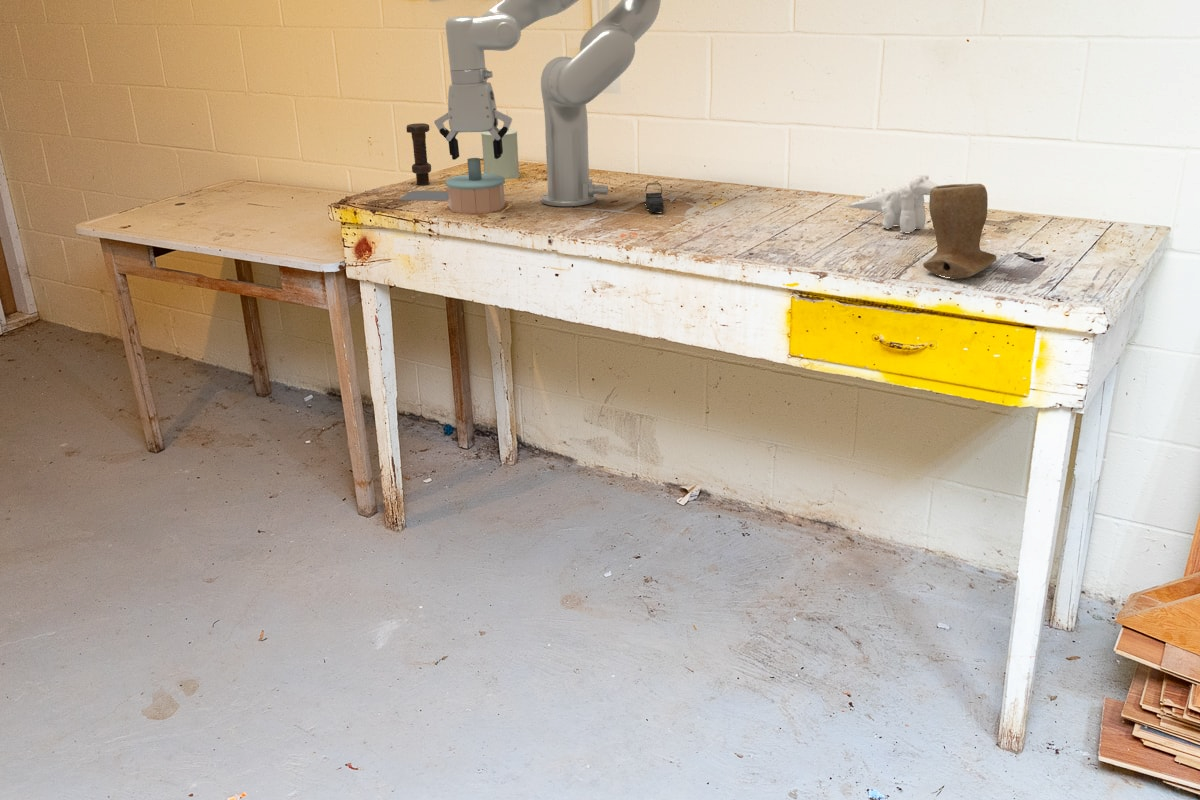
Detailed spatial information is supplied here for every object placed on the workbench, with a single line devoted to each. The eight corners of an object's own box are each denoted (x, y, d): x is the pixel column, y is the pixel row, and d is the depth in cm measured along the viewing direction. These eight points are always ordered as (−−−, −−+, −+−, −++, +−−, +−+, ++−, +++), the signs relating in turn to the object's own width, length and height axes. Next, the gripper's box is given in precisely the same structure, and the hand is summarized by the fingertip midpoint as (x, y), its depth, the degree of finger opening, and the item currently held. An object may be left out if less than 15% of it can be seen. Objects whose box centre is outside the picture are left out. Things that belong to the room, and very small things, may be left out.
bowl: (509, 204, 239) (508, 177, 237) (495, 216, 228) (494, 189, 226) (459, 203, 241) (457, 177, 239) (443, 215, 230) (441, 188, 228)
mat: (459, 193, 251) (459, 191, 250) (447, 203, 242) (446, 200, 241) (412, 193, 253) (412, 190, 253) (397, 202, 244) (397, 199, 244)
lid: (511, 177, 237) (509, 153, 235) (496, 189, 225) (494, 164, 223) (456, 176, 239) (454, 153, 237) (438, 188, 228) (436, 164, 225)
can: (520, 173, 272) (517, 126, 268) (519, 180, 264) (517, 132, 259) (484, 174, 272) (481, 127, 267) (483, 181, 263) (479, 133, 259)
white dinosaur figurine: (943, 237, 199) (944, 179, 196) (835, 230, 216) (834, 176, 212) (961, 230, 204) (961, 173, 200) (853, 224, 220) (853, 171, 217)
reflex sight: (646, 215, 226) (646, 192, 224) (644, 205, 236) (644, 183, 234) (664, 215, 226) (664, 192, 224) (661, 204, 236) (661, 182, 234)
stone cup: (937, 255, 192) (946, 173, 186) (1003, 265, 185) (1014, 180, 179) (903, 274, 181) (911, 188, 175) (971, 286, 174) (982, 196, 168)
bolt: (431, 188, 257) (425, 126, 251) (411, 189, 257) (405, 126, 252) (435, 183, 263) (430, 122, 257) (415, 184, 263) (409, 123, 257)
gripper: (512, 74, 225) (518, 154, 232) (435, 76, 228) (444, 155, 235) (503, 78, 219) (510, 160, 225) (424, 81, 222) (434, 162, 229)
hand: (476, 158), depth 230 cm, fingers open, 9 cm apart
